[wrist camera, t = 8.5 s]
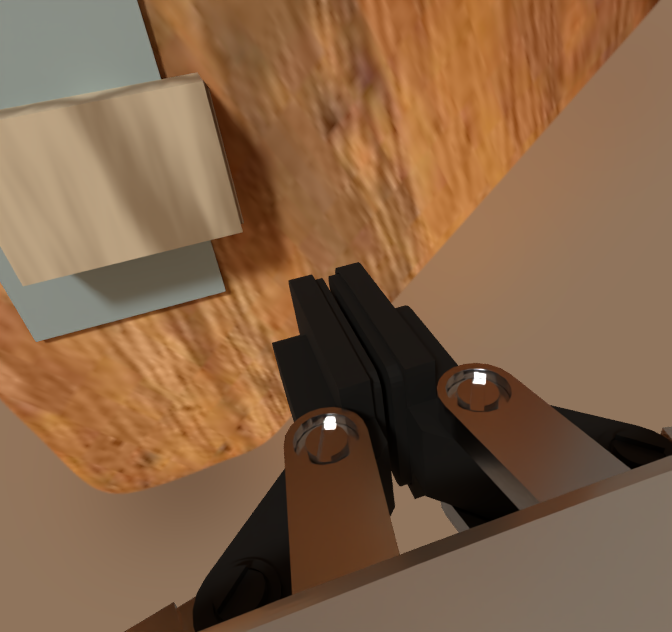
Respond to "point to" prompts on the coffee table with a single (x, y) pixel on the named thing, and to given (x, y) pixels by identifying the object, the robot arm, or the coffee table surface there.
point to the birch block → (112, 177)
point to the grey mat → (74, 79)
